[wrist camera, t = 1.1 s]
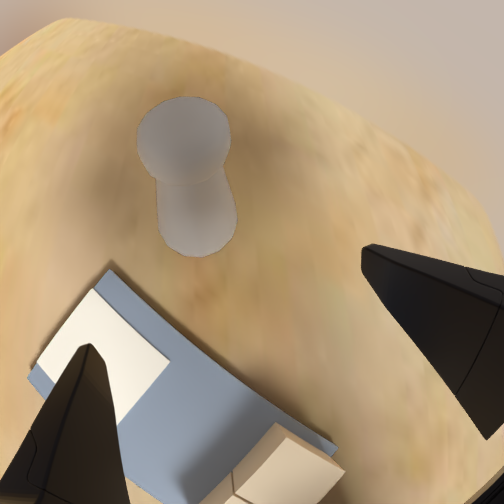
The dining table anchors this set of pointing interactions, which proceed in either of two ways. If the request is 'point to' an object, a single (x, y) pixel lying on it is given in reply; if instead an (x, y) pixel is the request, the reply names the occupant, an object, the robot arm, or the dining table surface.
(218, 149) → the salt shaker
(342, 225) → the dining table surface
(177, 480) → the board
